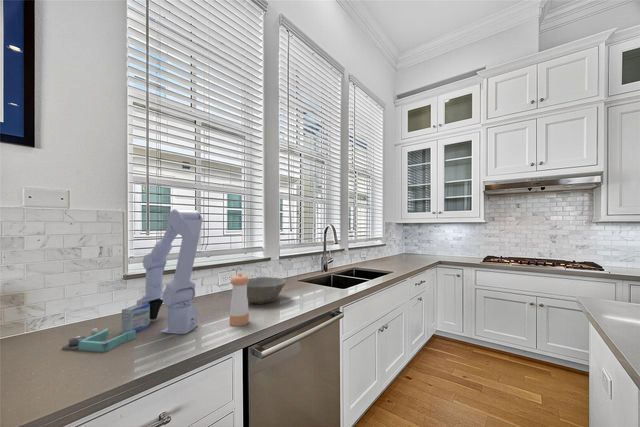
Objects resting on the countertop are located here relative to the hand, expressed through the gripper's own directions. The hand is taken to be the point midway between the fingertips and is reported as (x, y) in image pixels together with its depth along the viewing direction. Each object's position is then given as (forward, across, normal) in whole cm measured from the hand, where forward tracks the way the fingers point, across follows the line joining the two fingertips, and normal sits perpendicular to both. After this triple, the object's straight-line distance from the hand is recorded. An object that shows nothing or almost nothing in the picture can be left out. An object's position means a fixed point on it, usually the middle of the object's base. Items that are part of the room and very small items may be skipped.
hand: (153, 319), depth 107 cm
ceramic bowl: (+1, -34, +33) cm, 47 cm away
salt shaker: (+1, -5, +34) cm, 34 cm away
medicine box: (+1, +8, 0) cm, 8 cm away
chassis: (+1, +20, -2) cm, 20 cm away
